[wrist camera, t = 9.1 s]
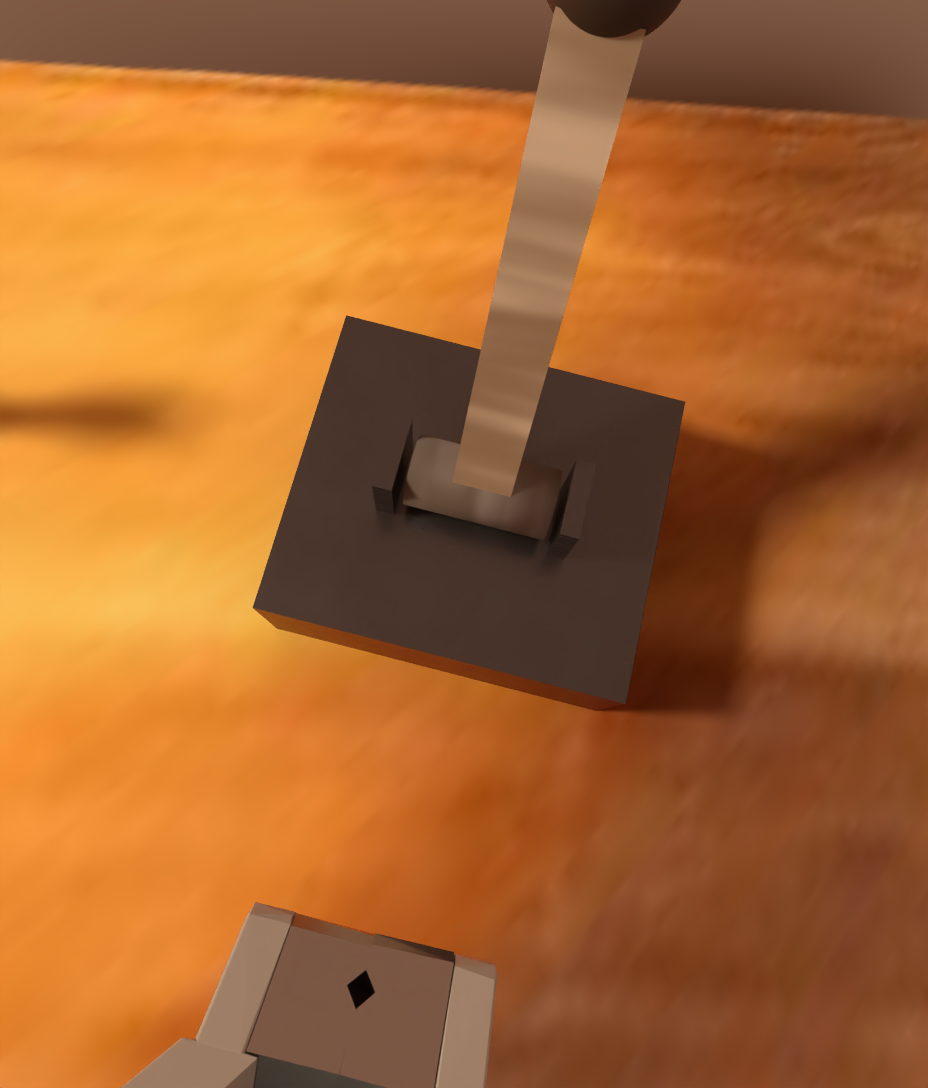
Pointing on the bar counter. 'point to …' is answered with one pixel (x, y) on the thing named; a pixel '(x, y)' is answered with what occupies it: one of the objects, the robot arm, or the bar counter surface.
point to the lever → (538, 270)
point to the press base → (472, 526)
